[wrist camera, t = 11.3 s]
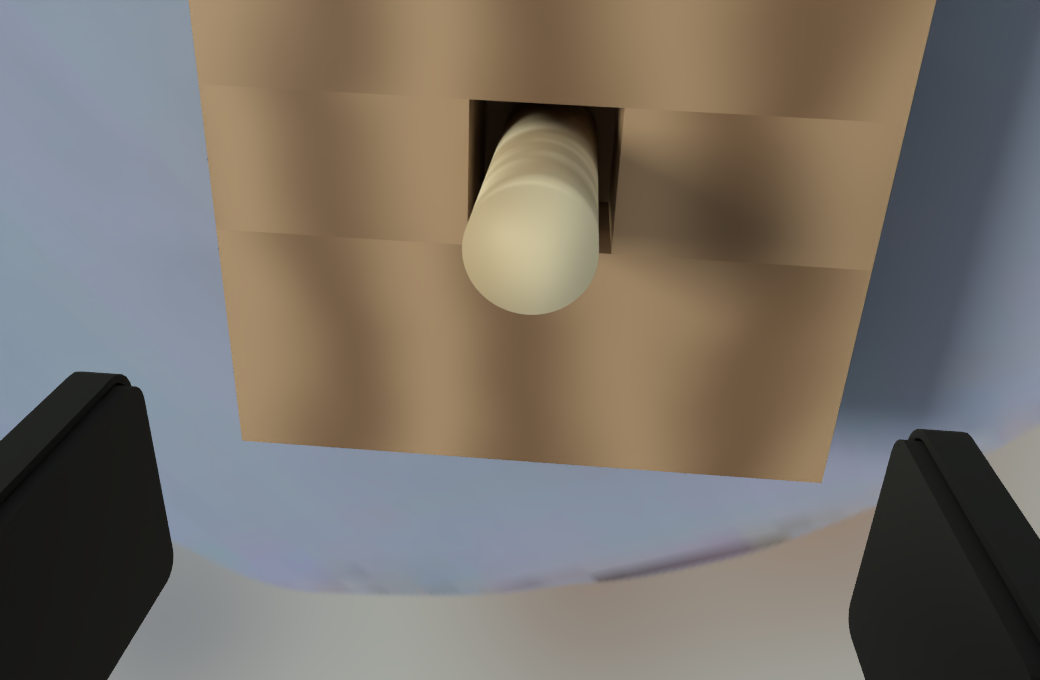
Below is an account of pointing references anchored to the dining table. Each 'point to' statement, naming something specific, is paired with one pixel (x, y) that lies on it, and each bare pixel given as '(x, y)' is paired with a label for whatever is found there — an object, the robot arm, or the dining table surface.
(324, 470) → the dining table surface
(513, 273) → the peg
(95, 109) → the dining table surface
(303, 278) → the bore block
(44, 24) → the dining table surface
